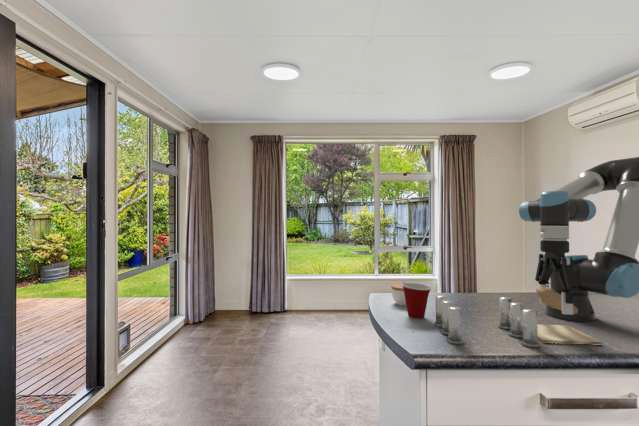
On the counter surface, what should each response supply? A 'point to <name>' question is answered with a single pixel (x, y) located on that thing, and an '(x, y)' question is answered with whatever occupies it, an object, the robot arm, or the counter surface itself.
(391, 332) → the counter surface
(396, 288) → the lidded jar
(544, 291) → the pottery oil lamp
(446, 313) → the posts
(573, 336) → the ash board
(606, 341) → the counter surface
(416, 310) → the plastic cup
